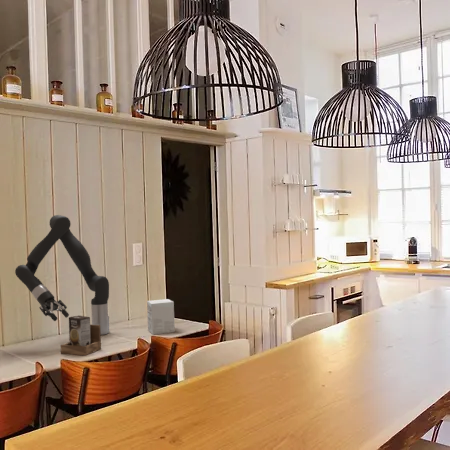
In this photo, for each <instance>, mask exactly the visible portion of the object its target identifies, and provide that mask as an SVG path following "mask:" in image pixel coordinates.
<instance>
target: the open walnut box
mask: <svg viewBox="0 0 450 450" xmlns="http://www.w3.org/2000/svg"><path fill="white" fill-rule="evenodd" d="M101 337H102V335H101V331H100V325H92V324H90V341H91V344H89V345H86V346H74V345H70V341H69V342H65V343H63V344H61V345H60V353H61V355H62V354H63V355H75V356H76V355H77V356H87V355H90V354H92V353H94V352H97V351H100V350H101V349H102V338H101Z"/></svg>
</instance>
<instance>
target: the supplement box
mask: <svg viewBox="0 0 450 450" xmlns="http://www.w3.org/2000/svg"><path fill="white" fill-rule="evenodd" d="M146 305H147V306H146V309H147V331H148V332H149V333H150V334H151V335H158V334H159V335H160V334H168V333H175V330H176V329H175V328H176V327H175V324H176V323H175V306H174V305H175V302H174V300H171V299H169V298H163V299H155V300H154V299H152V300H147V301H146Z"/></svg>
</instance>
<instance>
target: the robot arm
mask: <svg viewBox="0 0 450 450" xmlns="http://www.w3.org/2000/svg"><path fill="white" fill-rule="evenodd" d="M71 225H72V223H71V220H70V218H69V217H67V216H65V215H62V214H55V215H53V216H51V218H50V219H49V228H50V231H49V232H48V233H47V235H46V236H44V238H43V239H42V240H41V241H39V242H38V244H36V246H34V247H33V249H32V250H31V251H30V253H29V255H27V258H26V260H27V262H26V264H20V265H18V266H16V268H15V271H14V274H15V275H16V277H17V278H18V279H19V280H20V282H22V283H23V284H24V286H26V288H27V289H28V291H29V292H30V293H31V295H32V296H33V298H35V300H36V301H37V302H38V304H39V305H40V306H39V309H40V311H41V312H42V314H43V315H44V316H45V317H47V316H48V317H50V318H51V319H52V321H53V322H56V321H57V320H58V317H57V315H56V314H55V313H54V311H56V312H60V313H61V314H62V315H63V316H64V317H65V318H66V319H67V318H69V317H70V316H69V315H70V314H69V312H68V311H67V310H66V309H67V308H68V307H67V305H66V304H65V303H64V302H63V301H62V300H61V299H58V301H56V300H55V296H54V294H52V292H51V291H50V290H49V288H48V287H47V286H45V285H44V283H43V282H42V281H41V280H40V279H39V278H38V277H37V276H36V272H37V270H38V268H39V265H40V264H41V262H42V261H43V259H45V257H46V256H47V254H48V253H49V252H50V250H51V249H52V248H53V246H54V245H55V244H56V243H57V242H58V241H59V240H60V242H61V244H62V245H63V247H64V248H65V250H66V252H67V254H68V256H69V257H70V259H71V260H72V261H73V263H74V264H75V266H76V268H77V269H78V271H79V272H80V274H81V275H82V278H83V279H84V281H85V284H86V285H87V287H88V289H89V290H90V291H91V292H94V297H93V298H91V300H90V304H91V305H90V307H91V325H100V331H101V336H104V335H106V334H109V333H110V316H109V304H108V303H109V302H108V301H109V297H110V282H109V279H108V277H106V276H103V275H98V274H97V273H96V272H95V270H94V268H93V266H92V262H91V257H90V254H89V252H88V251H87V249H86V248H85V245H83V243H82V242H81V241H80V240H79V239H78V238H77V237H76V236H75V235H74V234H73V233H72V231H71V229H70V228H71Z"/></svg>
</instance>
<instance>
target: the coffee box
mask: <svg viewBox="0 0 450 450" xmlns="http://www.w3.org/2000/svg"><path fill="white" fill-rule="evenodd" d="M90 325H91V317H90V316H84V315H75V316H74V315H72V316H68V329H69V330H68V333H69V335H68V336H69V342H70V345H74V346H86V345H89V344H91V341H90Z"/></svg>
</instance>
